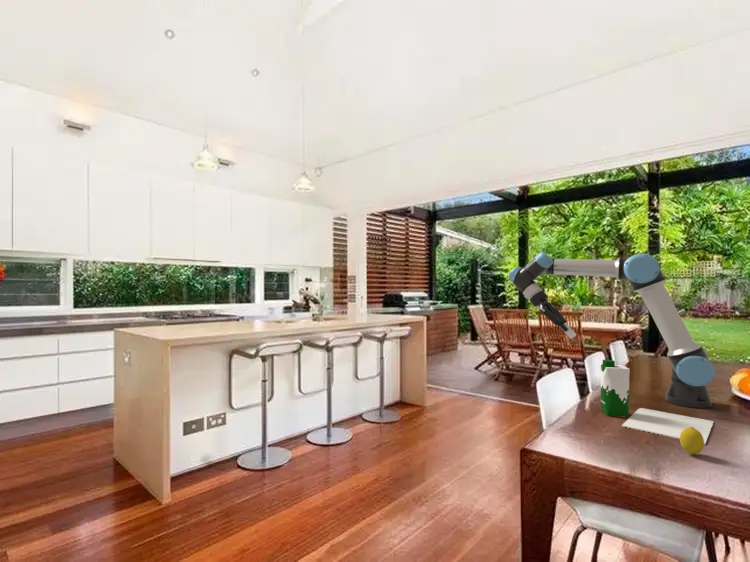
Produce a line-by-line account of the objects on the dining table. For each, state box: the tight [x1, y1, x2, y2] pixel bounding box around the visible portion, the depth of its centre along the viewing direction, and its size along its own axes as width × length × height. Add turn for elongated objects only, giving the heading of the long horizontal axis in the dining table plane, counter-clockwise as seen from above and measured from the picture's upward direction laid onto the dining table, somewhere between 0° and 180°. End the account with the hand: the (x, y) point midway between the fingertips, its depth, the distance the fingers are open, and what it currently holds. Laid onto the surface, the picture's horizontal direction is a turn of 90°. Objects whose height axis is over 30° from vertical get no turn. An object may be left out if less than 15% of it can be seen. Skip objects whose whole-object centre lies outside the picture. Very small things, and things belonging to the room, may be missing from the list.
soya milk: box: [599, 359, 631, 418], centre depth 156 cm, size 9×9×20 cm
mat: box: [621, 407, 715, 446], centre depth 145 cm, size 22×28×1 cm
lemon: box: [679, 427, 705, 456], centre depth 120 cm, size 6×6×8 cm
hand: (573, 336), depth 176 cm, fingers closed
